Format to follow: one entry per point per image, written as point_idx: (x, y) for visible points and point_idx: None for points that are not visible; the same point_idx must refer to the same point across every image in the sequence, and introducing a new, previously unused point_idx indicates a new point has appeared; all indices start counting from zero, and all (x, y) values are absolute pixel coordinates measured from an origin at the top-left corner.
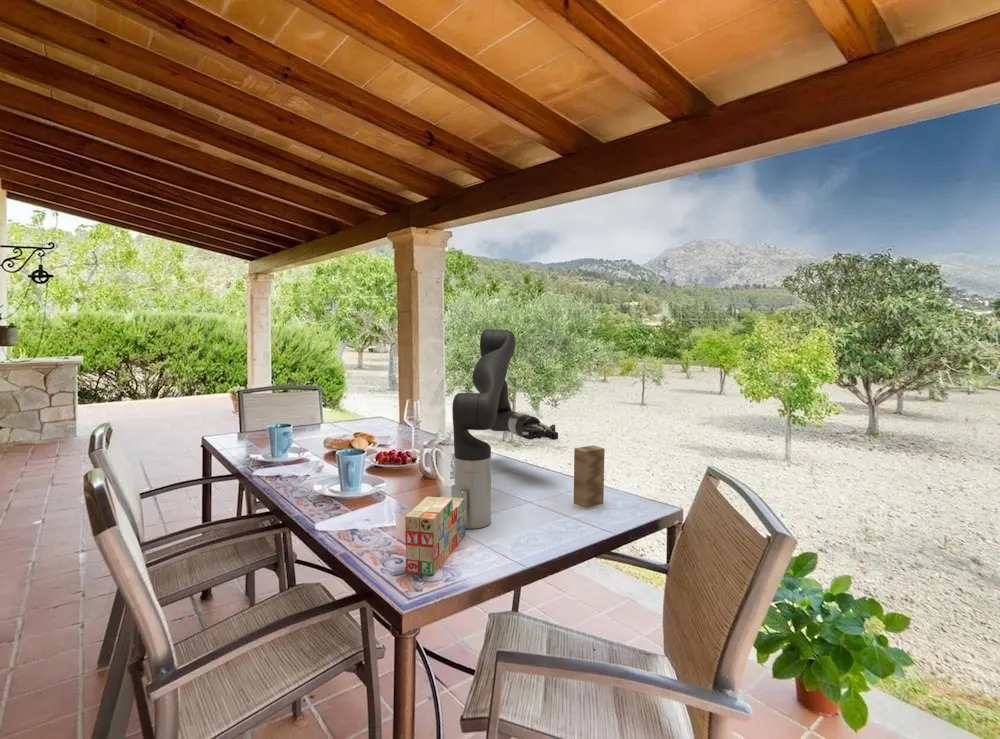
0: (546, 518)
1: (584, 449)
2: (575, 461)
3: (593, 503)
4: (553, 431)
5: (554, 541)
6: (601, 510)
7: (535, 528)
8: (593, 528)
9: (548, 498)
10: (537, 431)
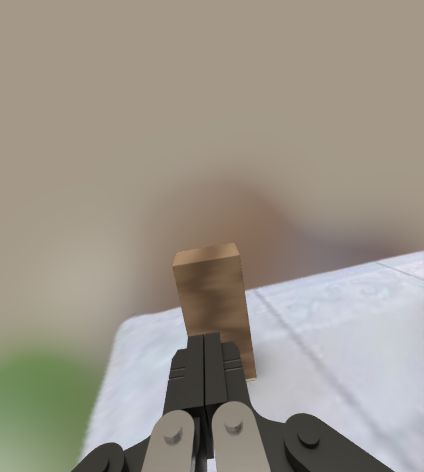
0: (339, 336)
1: (222, 250)
2: (243, 284)
3: None
4: (194, 361)
5: (336, 286)
6: None
7: (364, 312)
8: (272, 301)
9: None
10: (337, 440)
